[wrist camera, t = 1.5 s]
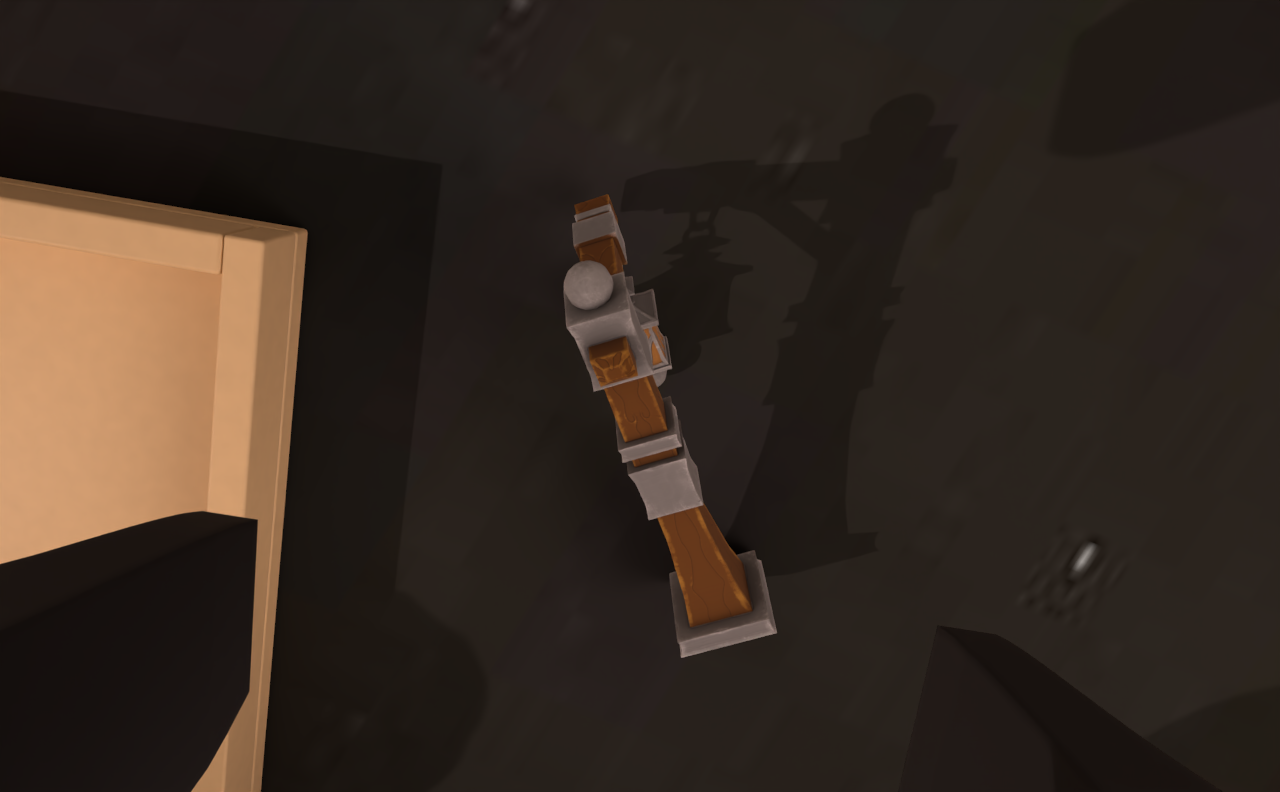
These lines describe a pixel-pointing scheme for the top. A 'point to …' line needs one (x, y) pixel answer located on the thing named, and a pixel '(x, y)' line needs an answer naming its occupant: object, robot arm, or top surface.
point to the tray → (149, 388)
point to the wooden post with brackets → (658, 439)
